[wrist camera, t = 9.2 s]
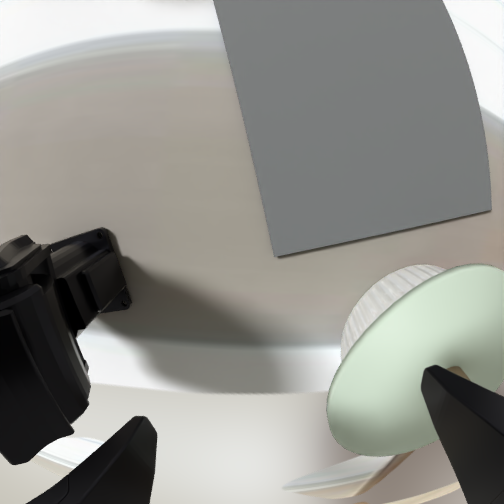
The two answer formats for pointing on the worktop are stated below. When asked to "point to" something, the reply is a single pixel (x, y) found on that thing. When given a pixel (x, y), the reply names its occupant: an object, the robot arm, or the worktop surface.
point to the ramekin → (383, 300)
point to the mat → (355, 116)
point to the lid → (417, 359)
